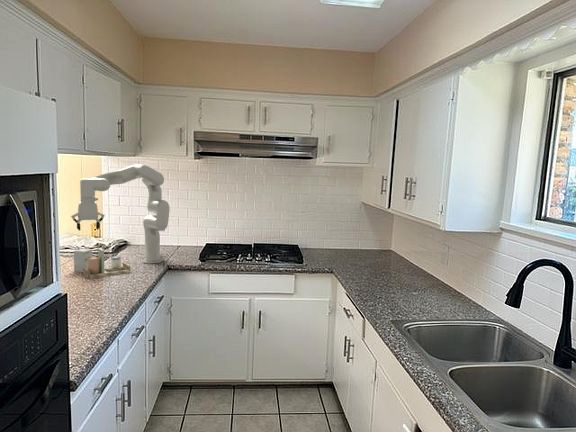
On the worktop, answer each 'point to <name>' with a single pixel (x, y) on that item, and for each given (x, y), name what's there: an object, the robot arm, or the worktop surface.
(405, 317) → the worktop surface
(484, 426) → the worktop surface
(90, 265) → the ball
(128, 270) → the lane
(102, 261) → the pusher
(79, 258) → the supplement box
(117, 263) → the cream jar
